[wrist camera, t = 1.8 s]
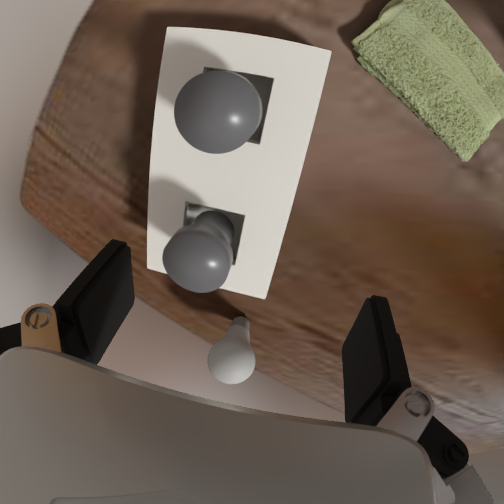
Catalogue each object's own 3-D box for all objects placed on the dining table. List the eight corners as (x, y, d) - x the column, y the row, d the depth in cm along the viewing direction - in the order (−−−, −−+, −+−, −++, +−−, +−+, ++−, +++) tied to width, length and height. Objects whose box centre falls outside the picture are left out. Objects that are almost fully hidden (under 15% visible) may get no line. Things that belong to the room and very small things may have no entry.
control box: (190, 33, 26) (167, 26, 21) (326, 55, 26) (331, 51, 21) (166, 242, 40) (147, 268, 35) (271, 268, 40) (265, 299, 35)
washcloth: (413, -23, 19) (422, -30, 16) (515, 96, 23) (530, 100, 20) (340, 51, 26) (344, 48, 23) (453, 165, 29) (464, 174, 27)
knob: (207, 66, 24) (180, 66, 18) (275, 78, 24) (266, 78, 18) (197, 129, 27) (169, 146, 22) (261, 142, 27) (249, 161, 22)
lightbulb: (258, 302, 43) (245, 364, 34) (266, 332, 46) (255, 393, 37) (216, 304, 45) (195, 363, 36) (227, 333, 48) (210, 391, 39)
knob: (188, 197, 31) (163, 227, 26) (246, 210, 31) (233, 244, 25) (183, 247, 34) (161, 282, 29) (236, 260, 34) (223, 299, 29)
